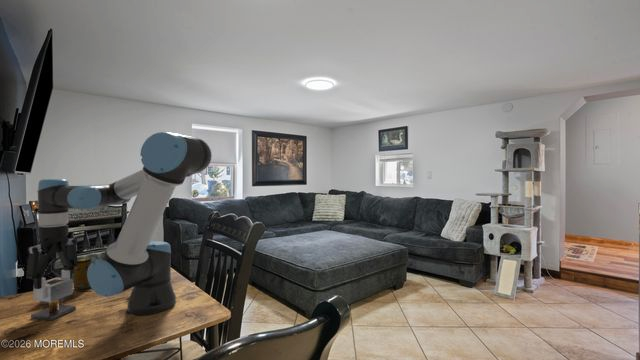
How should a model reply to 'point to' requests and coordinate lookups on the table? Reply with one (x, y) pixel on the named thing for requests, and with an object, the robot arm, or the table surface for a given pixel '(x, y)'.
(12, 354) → the table surface
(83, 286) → the condiment
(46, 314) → the keeper
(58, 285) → the grey hollow block
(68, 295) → the link
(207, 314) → the table surface
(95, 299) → the table surface
